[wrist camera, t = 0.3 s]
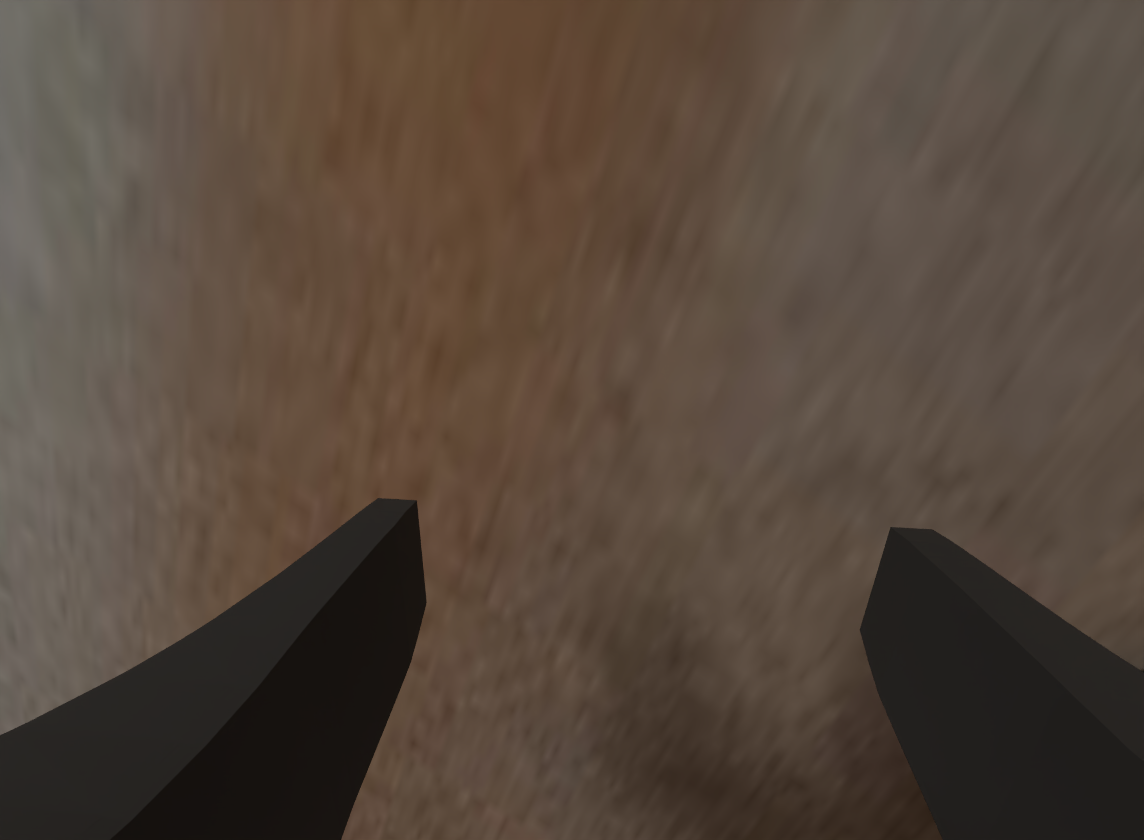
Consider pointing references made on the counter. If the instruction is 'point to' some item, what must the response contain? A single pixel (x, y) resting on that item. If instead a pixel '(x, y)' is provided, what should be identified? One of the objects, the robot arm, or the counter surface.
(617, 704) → the counter surface
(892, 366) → the counter surface
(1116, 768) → the robot arm
